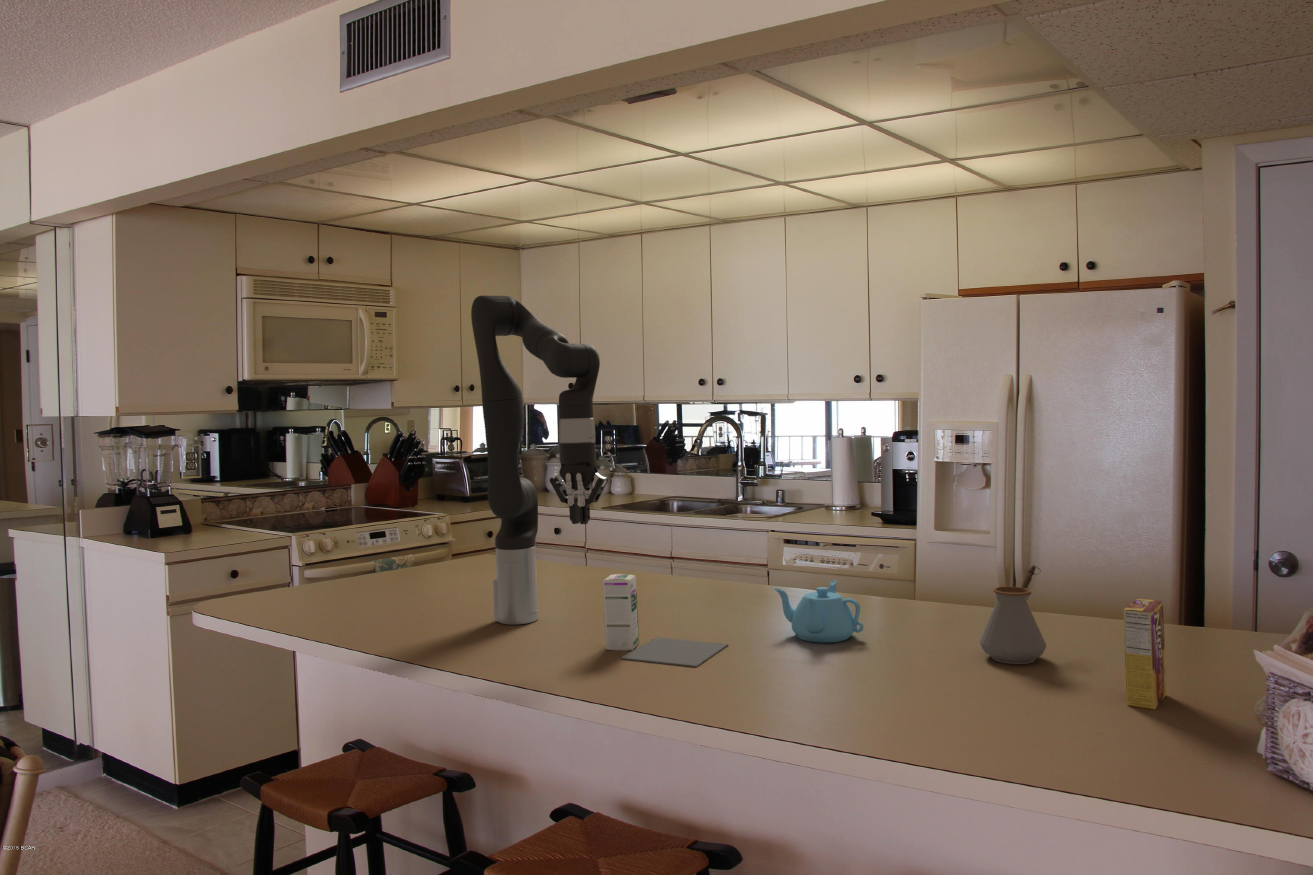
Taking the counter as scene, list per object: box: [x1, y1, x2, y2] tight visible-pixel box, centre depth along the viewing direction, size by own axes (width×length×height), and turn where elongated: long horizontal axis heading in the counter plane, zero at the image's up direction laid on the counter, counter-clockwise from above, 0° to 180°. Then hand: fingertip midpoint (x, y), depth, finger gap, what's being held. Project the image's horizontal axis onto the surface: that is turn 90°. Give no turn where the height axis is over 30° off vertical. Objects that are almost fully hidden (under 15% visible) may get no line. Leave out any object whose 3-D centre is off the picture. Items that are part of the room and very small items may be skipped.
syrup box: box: [602, 573, 640, 652], centre depth 184 cm, size 6×6×14 cm
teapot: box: [773, 579, 865, 644], centre depth 186 cm, size 15×15×10 cm
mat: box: [620, 636, 729, 668], centre depth 179 cm, size 16×16×1 cm
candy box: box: [1123, 598, 1168, 710], centre depth 142 cm, size 9×4×15 cm, turn 140°
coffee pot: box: [979, 564, 1047, 665], centre depth 171 cm, size 21×12×15 cm, turn 142°
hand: (580, 523), depth 187 cm, fingers closed
